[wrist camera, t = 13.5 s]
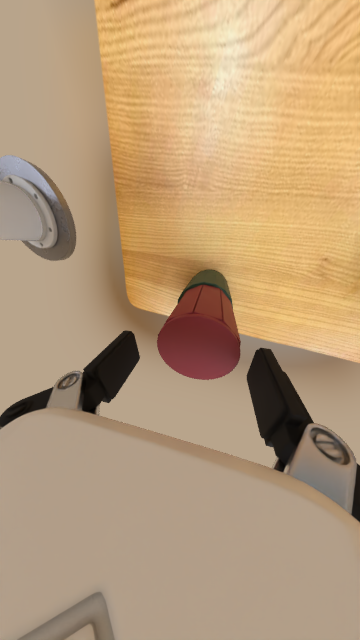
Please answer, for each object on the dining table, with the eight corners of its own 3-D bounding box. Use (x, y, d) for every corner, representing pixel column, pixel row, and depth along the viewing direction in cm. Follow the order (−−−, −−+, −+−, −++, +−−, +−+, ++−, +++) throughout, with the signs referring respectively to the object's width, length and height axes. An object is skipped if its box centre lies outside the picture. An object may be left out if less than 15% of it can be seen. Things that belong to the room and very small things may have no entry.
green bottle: (183, 293, 27) (155, 335, 15) (202, 261, 23) (186, 280, 11) (212, 311, 28) (207, 367, 15) (235, 283, 24) (256, 325, 11)
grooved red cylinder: (171, 315, 19) (146, 354, 12) (197, 273, 15) (180, 296, 8) (209, 339, 19) (205, 389, 12) (243, 303, 15) (264, 348, 9)
